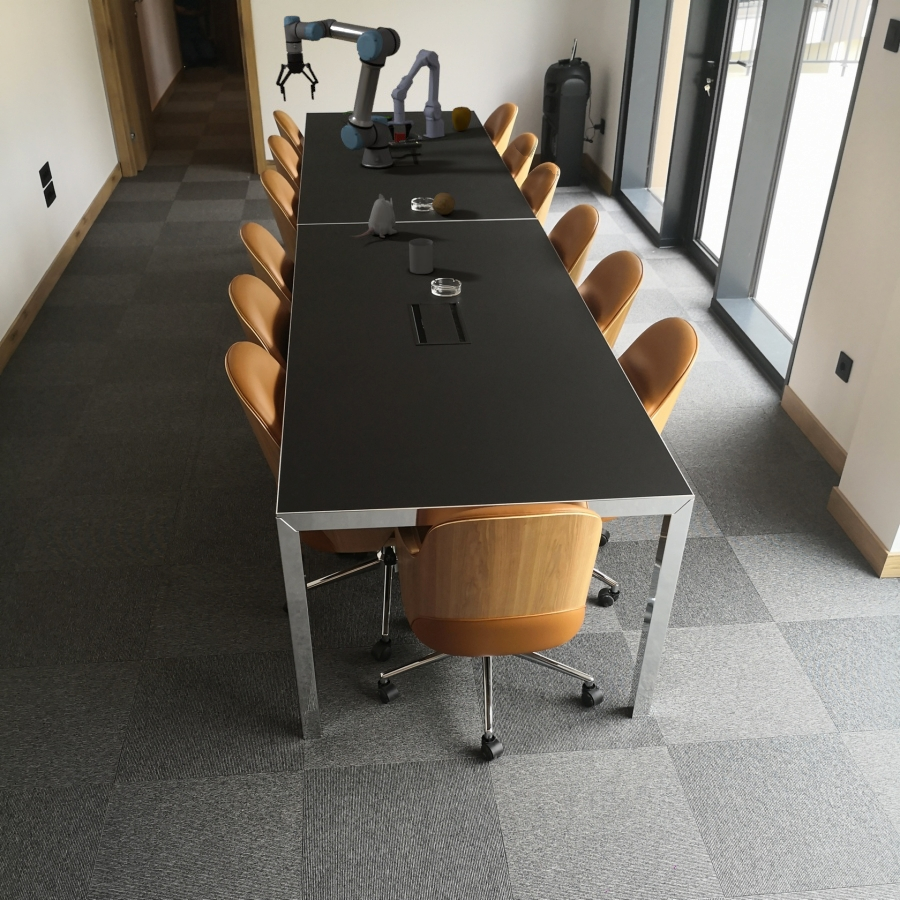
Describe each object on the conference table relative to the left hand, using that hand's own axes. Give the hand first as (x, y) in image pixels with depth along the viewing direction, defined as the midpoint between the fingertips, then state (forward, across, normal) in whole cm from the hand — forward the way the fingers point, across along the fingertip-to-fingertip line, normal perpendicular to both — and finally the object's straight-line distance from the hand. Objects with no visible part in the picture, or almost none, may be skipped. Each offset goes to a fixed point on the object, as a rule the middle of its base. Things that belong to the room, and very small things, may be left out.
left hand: (298, 100), depth 420 cm
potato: (+28, +42, -104) cm, 115 cm away
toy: (+28, +7, -125) cm, 128 cm away
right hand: (+27, +56, +23) cm, 66 cm away
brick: (+28, +56, +23) cm, 67 cm away
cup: (+28, +16, -164) cm, 167 cm away
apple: (+28, +96, +39) cm, 107 cm away
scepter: (+28, +49, +73) cm, 92 cm away
